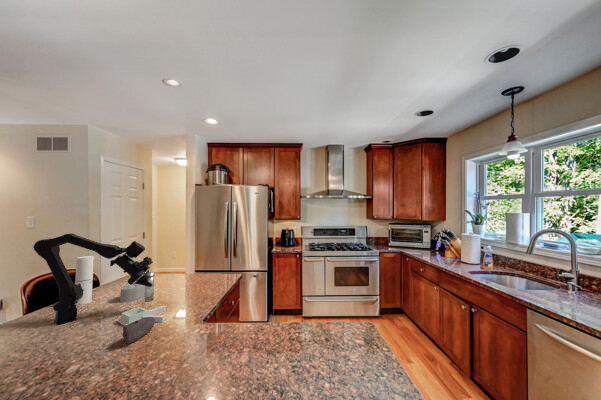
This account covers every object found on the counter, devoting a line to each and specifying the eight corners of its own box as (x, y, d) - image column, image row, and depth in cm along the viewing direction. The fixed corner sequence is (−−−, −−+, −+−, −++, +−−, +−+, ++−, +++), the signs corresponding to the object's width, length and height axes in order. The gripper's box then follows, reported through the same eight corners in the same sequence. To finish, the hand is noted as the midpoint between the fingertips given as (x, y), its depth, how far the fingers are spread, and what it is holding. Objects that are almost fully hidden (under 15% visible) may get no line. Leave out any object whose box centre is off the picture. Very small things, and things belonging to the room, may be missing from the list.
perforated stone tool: (149, 327, 104) (150, 311, 104) (159, 328, 103) (160, 312, 103) (116, 346, 89) (117, 327, 90) (127, 348, 88) (128, 328, 89)
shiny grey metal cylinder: (146, 302, 120) (147, 274, 121) (142, 300, 122) (143, 272, 123) (155, 300, 123) (156, 272, 124) (151, 298, 126) (152, 271, 126)
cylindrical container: (70, 304, 131) (73, 257, 132) (86, 299, 138) (88, 255, 139) (80, 305, 129) (82, 258, 130) (94, 301, 136) (96, 256, 137)
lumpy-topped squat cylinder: (149, 295, 145) (150, 281, 145) (128, 303, 132) (128, 287, 133) (136, 293, 148) (137, 279, 148) (114, 301, 135) (115, 285, 136)
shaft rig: (135, 332, 100) (135, 322, 100) (117, 321, 110) (118, 313, 110) (179, 315, 116) (179, 307, 116) (160, 307, 125) (161, 300, 126)
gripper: (136, 255, 114) (162, 277, 117) (146, 250, 131) (168, 268, 135) (116, 274, 111) (143, 295, 114) (128, 265, 128) (151, 284, 131)
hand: (152, 285), depth 124 cm, fingers closed on shiny grey metal cylinder, 4 cm apart
